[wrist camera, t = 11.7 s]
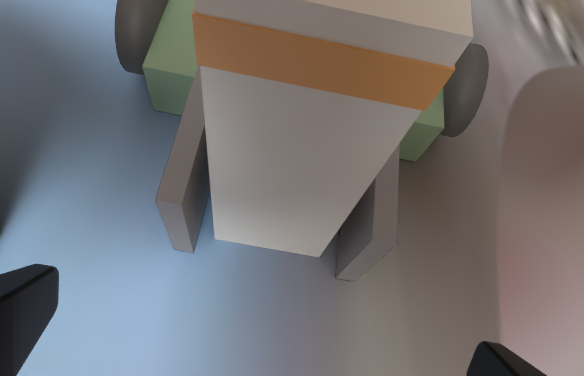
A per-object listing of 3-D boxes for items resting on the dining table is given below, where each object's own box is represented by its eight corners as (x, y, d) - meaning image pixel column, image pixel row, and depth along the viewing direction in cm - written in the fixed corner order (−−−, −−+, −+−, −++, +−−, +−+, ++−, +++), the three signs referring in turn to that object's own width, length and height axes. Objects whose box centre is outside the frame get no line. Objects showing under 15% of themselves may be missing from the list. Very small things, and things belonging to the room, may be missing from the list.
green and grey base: (446, 298, 18) (520, 267, 13) (72, 231, 17) (16, 174, 12) (437, -29, 27) (478, -110, 23) (199, -83, 26) (194, -179, 22)
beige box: (320, 258, 18) (476, 40, 7) (213, 240, 17) (188, -22, 6) (330, 157, 20) (460, -133, 9) (236, 139, 20) (249, -184, 9)
